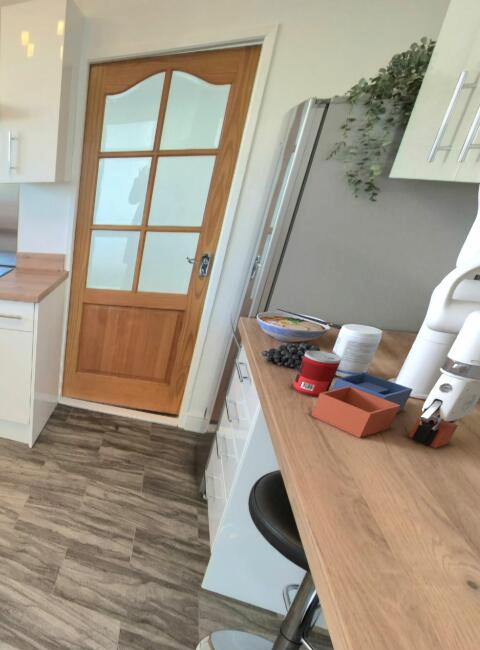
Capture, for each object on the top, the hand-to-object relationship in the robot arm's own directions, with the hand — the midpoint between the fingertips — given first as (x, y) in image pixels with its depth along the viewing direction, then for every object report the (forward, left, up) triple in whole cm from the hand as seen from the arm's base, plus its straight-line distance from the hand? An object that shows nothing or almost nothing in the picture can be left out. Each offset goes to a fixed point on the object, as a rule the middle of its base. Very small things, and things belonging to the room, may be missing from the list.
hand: (428, 438), depth 100 cm
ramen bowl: (-35, -59, -1) cm, 68 cm away
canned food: (0, -27, -1) cm, 27 cm away
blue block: (-5, -16, 0) cm, 17 cm away
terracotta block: (0, 0, 0) cm, 0 cm away
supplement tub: (-22, -31, -1) cm, 38 cm away
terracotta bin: (+8, -12, 0) cm, 14 cm away
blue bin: (-5, -16, 0) cm, 17 cm away
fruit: (-12, -42, -1) cm, 43 cm away
